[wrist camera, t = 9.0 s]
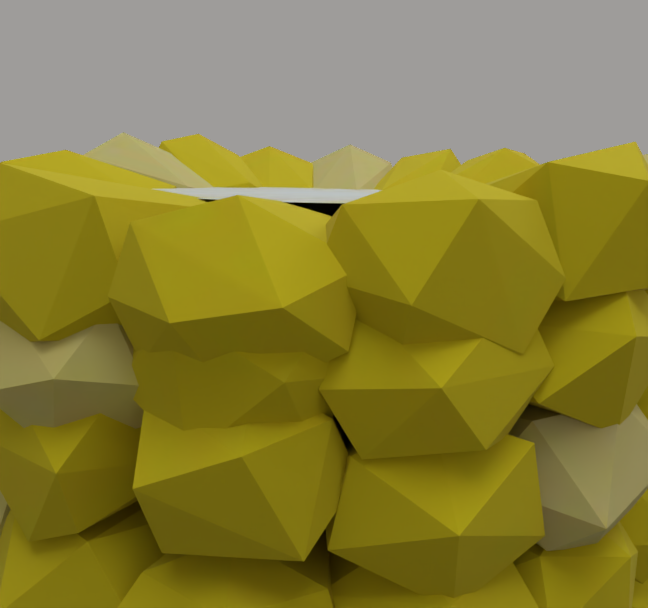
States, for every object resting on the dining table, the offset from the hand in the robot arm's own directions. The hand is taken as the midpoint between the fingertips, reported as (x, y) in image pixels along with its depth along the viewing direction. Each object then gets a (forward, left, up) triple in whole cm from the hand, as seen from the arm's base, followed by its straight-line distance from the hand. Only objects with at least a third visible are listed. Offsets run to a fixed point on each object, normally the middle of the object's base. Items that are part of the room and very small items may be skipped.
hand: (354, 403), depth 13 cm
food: (-1, -4, -8) cm, 9 cm away
